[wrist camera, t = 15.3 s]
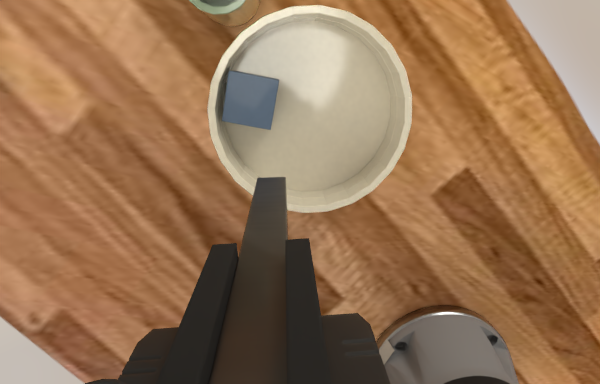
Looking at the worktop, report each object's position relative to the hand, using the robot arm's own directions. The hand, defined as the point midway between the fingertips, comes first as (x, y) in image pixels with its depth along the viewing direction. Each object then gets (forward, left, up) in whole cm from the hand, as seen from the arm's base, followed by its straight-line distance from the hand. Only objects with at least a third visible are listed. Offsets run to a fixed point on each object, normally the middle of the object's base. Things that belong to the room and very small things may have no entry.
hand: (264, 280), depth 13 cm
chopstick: (0, 0, -10) cm, 10 cm away
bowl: (+3, -3, -26) cm, 27 cm away
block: (+4, +2, -26) cm, 26 cm away
